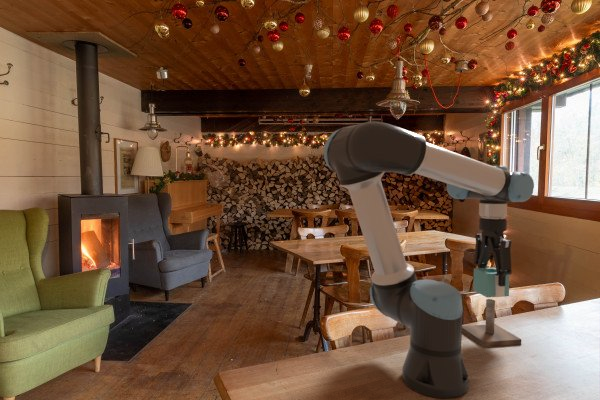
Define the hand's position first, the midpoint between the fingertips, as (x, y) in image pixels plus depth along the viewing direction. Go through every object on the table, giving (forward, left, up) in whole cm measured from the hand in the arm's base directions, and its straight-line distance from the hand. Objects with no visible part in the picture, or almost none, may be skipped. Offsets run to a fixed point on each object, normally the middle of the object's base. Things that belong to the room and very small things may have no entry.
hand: (491, 292), depth 119 cm
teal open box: (0, 0, 0) cm, 0 cm away
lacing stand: (0, 0, -14) cm, 14 cm away
